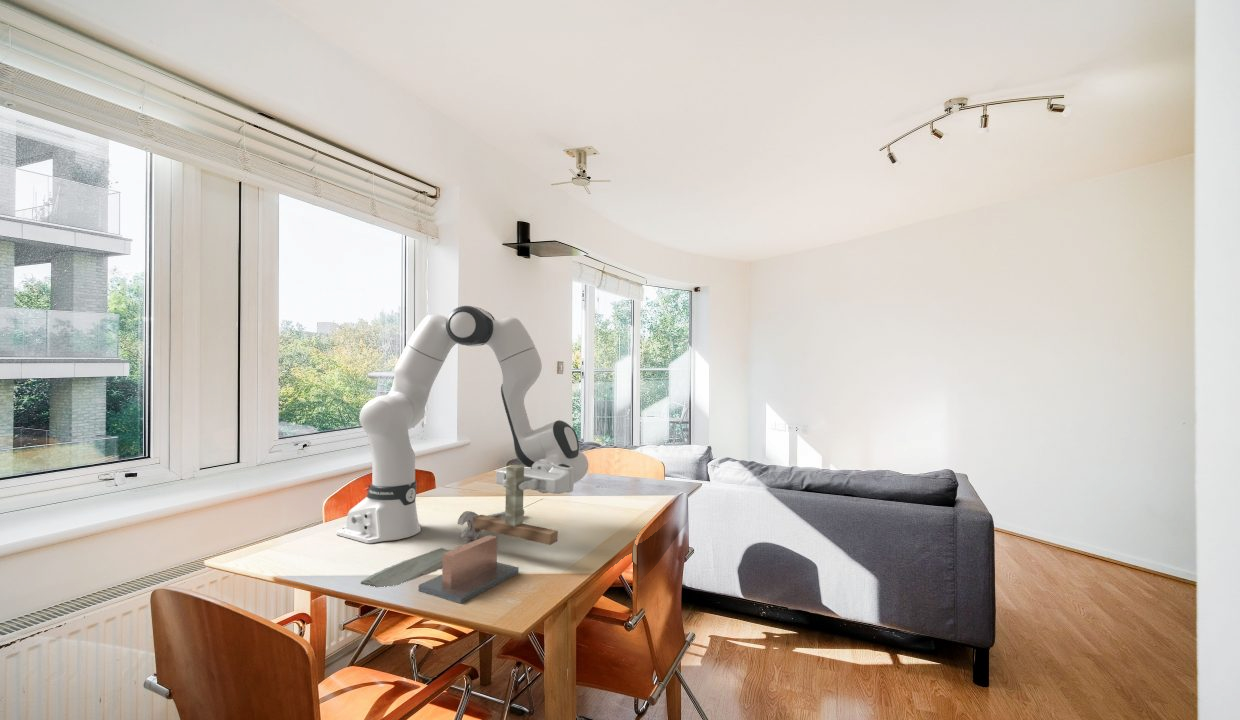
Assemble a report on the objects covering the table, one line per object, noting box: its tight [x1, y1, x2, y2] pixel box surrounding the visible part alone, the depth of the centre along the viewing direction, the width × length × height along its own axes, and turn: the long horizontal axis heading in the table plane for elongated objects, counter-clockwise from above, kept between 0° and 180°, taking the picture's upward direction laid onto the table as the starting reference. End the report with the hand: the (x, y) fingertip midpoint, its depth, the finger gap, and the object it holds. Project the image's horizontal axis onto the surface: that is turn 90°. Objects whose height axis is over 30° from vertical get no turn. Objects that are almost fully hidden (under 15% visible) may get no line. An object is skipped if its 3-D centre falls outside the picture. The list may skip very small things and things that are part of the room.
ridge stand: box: [418, 534, 520, 604], centre depth 118 cm, size 12×18×8 cm, turn 151°
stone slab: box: [360, 547, 452, 588], centre depth 125 cm, size 22×3×10 cm
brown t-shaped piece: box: [473, 464, 559, 546], centre depth 132 cm, size 24×3×16 cm, turn 61°
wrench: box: [457, 509, 525, 541], centre depth 154 cm, size 8×2×30 cm
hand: (512, 485), depth 131 cm, fingers closed on brown t-shaped piece, 3 cm apart
